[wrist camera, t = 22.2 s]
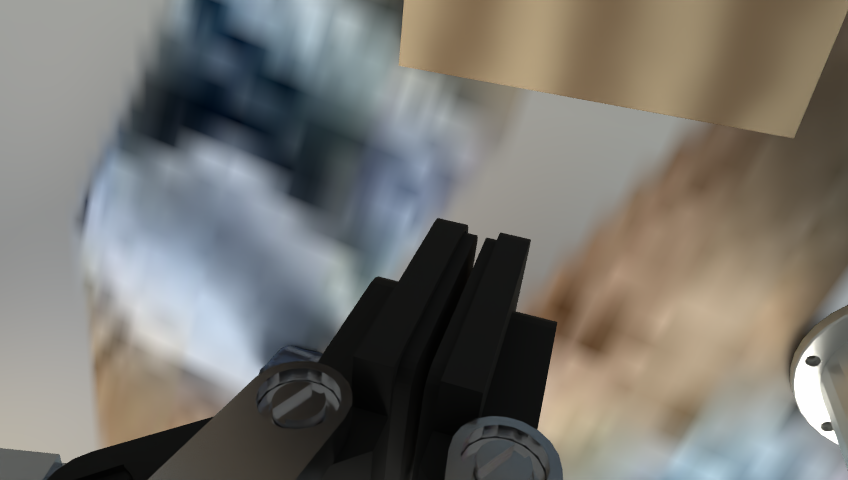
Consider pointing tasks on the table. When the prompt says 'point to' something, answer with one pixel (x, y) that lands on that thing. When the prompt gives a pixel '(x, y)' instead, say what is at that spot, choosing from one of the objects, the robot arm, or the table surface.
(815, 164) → the table surface
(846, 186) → the table surface
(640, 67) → the oak plank
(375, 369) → the robot arm
